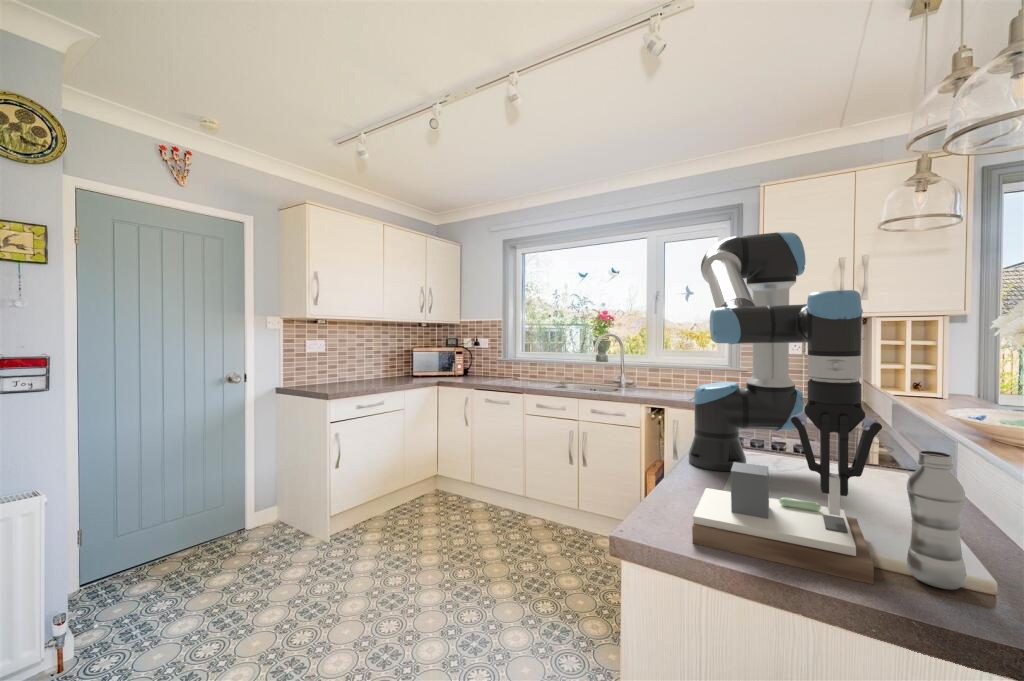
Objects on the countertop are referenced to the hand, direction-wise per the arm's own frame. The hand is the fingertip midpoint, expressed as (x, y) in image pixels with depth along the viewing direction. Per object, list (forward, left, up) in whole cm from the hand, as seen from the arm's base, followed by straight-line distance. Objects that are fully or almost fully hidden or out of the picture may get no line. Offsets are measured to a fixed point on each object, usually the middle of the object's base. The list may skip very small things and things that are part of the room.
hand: (833, 511), depth 75 cm
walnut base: (0, -9, -7) cm, 11 cm away
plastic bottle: (+4, +12, -7) cm, 15 cm away
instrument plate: (0, -10, -4) cm, 11 cm away
